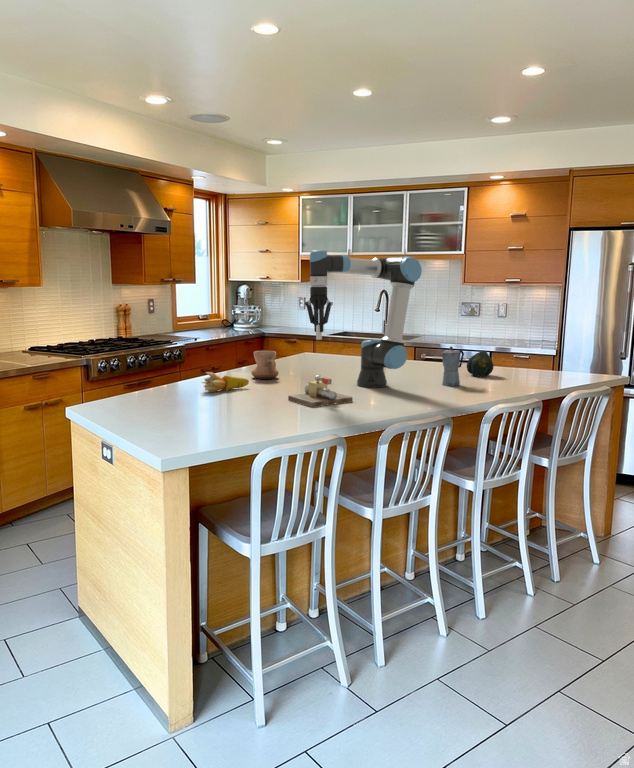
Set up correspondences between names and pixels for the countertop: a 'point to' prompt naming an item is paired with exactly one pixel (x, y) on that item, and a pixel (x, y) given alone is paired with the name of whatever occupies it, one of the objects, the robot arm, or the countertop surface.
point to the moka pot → (451, 366)
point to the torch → (223, 382)
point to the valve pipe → (319, 390)
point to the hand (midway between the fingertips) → (319, 339)
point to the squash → (480, 364)
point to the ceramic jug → (265, 365)
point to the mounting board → (318, 399)
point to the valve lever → (323, 379)
